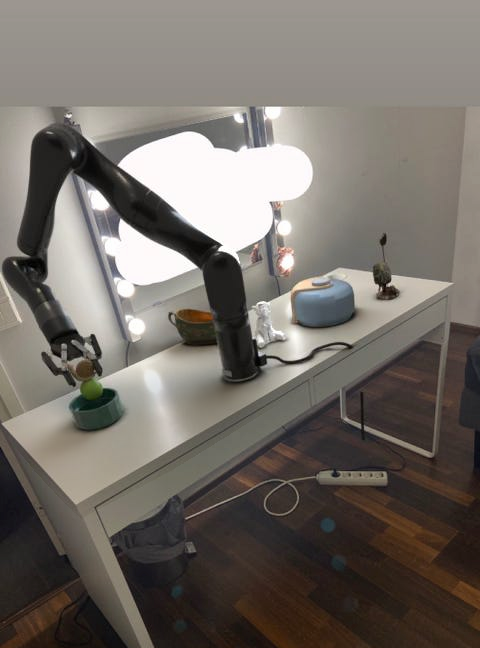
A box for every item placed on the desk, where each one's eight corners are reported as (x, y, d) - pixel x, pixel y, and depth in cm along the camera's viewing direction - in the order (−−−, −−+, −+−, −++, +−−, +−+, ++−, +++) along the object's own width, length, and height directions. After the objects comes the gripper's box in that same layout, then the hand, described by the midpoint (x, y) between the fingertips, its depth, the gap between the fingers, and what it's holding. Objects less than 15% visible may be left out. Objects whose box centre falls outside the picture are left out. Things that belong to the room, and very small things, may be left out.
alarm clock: (316, 303, 172) (313, 268, 165) (366, 309, 158) (365, 272, 152) (281, 323, 161) (276, 286, 155) (332, 331, 148) (329, 292, 142)
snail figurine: (77, 402, 123) (60, 358, 117) (99, 391, 126) (84, 348, 120) (86, 408, 119) (69, 363, 113) (109, 397, 122) (94, 353, 116)
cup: (201, 327, 170) (195, 299, 165) (239, 338, 156) (233, 307, 151) (171, 341, 164) (164, 312, 159) (207, 353, 150) (200, 321, 145)
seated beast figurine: (259, 349, 146) (253, 310, 140) (246, 341, 153) (240, 304, 147) (287, 339, 149) (282, 301, 143) (273, 332, 156) (268, 295, 149)
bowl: (113, 401, 133) (106, 383, 130) (131, 416, 124) (125, 397, 121) (70, 420, 127) (62, 401, 125) (86, 437, 118) (78, 417, 116)
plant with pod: (365, 300, 167) (363, 238, 156) (386, 289, 172) (385, 229, 162) (385, 303, 161) (384, 239, 150) (406, 292, 166) (406, 230, 156)
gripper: (25, 325, 115) (58, 385, 112) (83, 306, 121) (116, 362, 118) (28, 341, 121) (59, 398, 119) (82, 322, 127) (114, 375, 125)
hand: (87, 379), depth 118 cm, fingers closed on snail figurine, 6 cm apart
